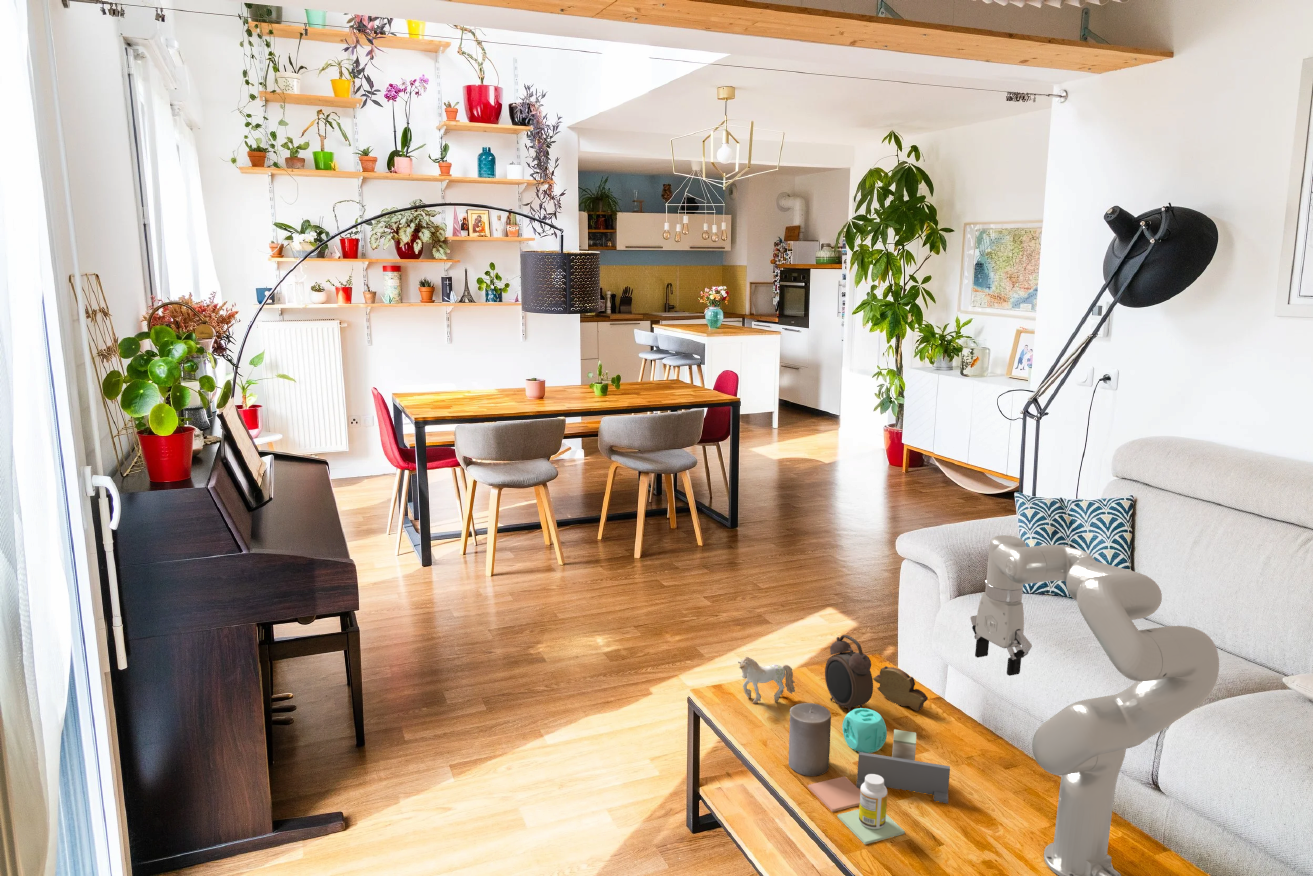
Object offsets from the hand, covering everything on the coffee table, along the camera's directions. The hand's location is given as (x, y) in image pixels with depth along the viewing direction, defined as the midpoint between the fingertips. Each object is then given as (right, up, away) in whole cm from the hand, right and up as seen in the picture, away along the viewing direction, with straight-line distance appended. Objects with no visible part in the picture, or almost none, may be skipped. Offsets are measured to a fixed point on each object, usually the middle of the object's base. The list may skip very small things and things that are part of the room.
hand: (996, 665), depth 197 cm
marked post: (-18, -29, +10) cm, 35 cm away
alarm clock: (-25, -23, +43) cm, 54 cm away
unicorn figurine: (-46, -22, +43) cm, 67 cm away
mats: (-33, -31, -3) cm, 45 cm away
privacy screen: (-20, -30, +5) cm, 36 cm away
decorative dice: (-24, -26, +24) cm, 43 cm away
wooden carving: (-9, -22, +45) cm, 52 cm away
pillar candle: (-40, -28, +14) cm, 50 cm away
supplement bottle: (-30, -32, -9) cm, 44 cm away
